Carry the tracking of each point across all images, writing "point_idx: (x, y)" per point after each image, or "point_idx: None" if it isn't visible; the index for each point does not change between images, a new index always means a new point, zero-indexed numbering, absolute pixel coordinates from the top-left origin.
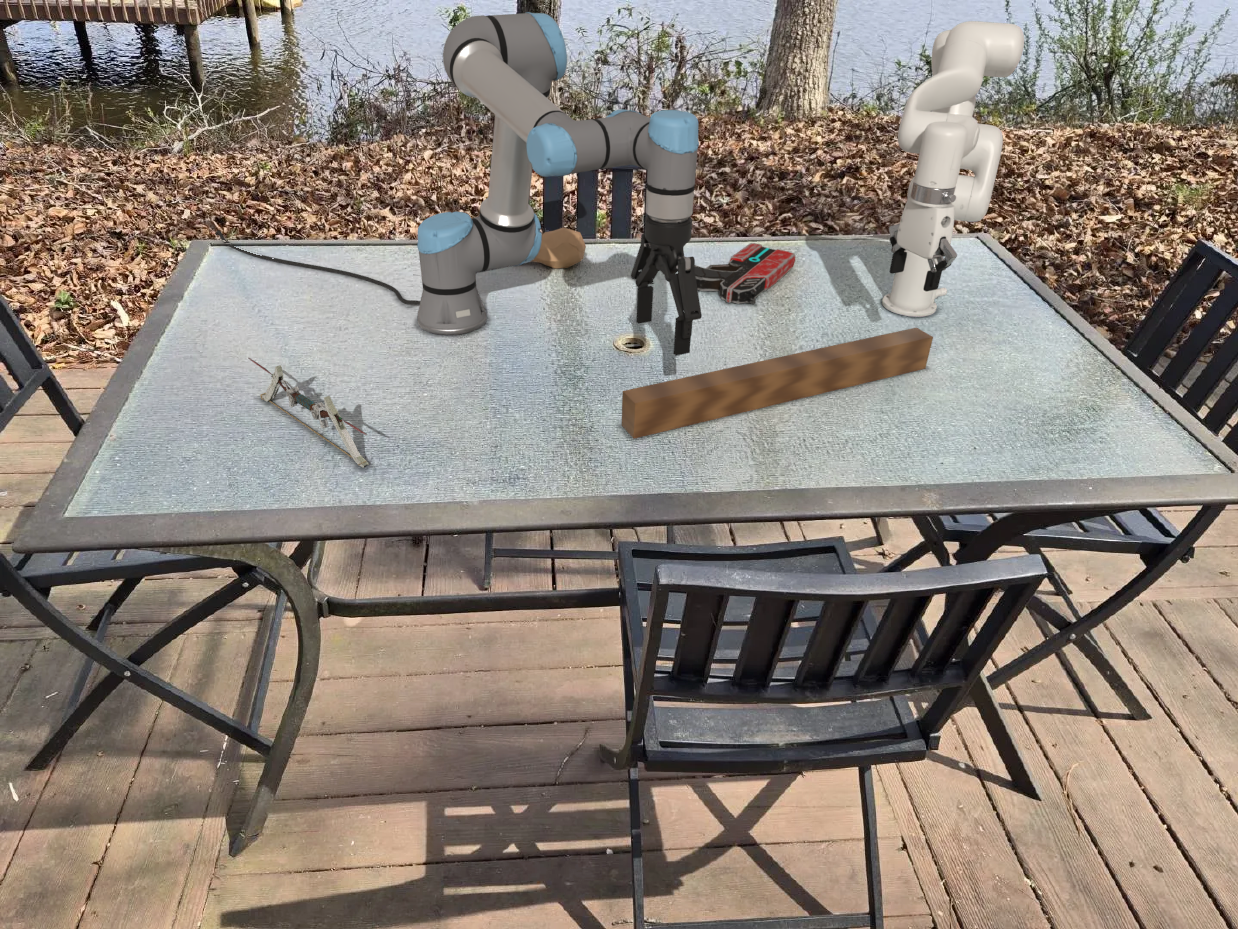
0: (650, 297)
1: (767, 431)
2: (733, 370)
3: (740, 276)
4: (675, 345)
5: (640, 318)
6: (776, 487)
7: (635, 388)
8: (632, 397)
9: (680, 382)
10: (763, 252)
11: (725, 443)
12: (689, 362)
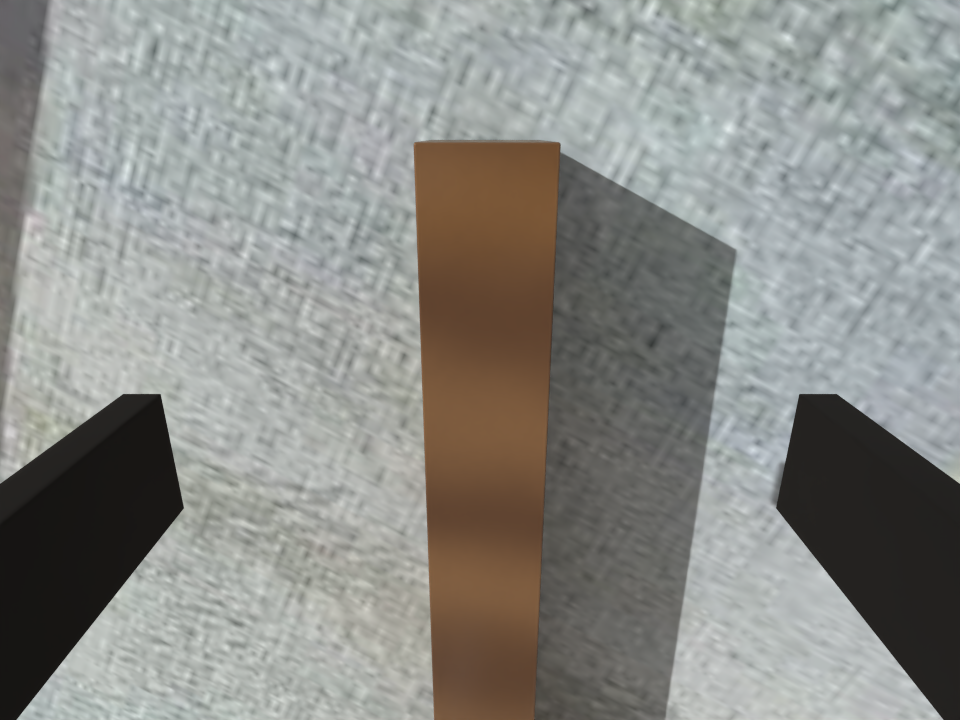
0: (930, 669)
1: (315, 565)
2: (510, 652)
3: None
4: (81, 434)
5: (820, 434)
6: (13, 433)
7: (553, 218)
8: (476, 159)
9: (512, 434)
10: None
11: (291, 425)
12: (813, 574)
